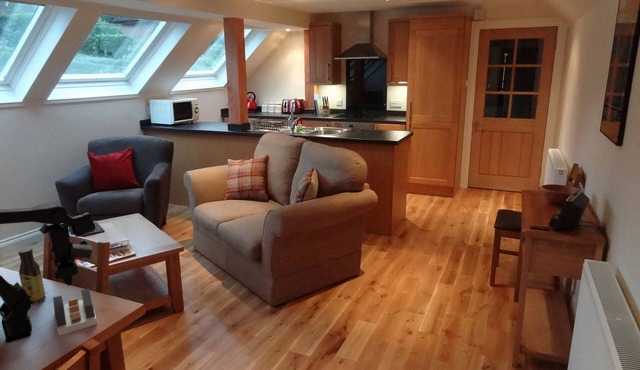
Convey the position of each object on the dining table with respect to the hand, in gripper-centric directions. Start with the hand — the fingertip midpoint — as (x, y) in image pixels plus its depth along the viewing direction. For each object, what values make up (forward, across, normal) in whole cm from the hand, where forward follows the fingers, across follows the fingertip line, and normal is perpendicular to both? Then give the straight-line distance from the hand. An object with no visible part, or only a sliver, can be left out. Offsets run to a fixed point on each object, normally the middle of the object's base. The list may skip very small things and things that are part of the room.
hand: (69, 284), depth 148 cm
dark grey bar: (+8, -4, +4) cm, 10 cm away
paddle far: (+8, 0, 0) cm, 8 cm away
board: (+10, -4, 0) cm, 11 cm away
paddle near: (+8, -9, 0) cm, 12 cm away
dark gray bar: (+8, -4, -4) cm, 10 cm away
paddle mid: (+8, -4, 0) cm, 9 cm away
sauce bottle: (+10, +16, +11) cm, 22 cm away
